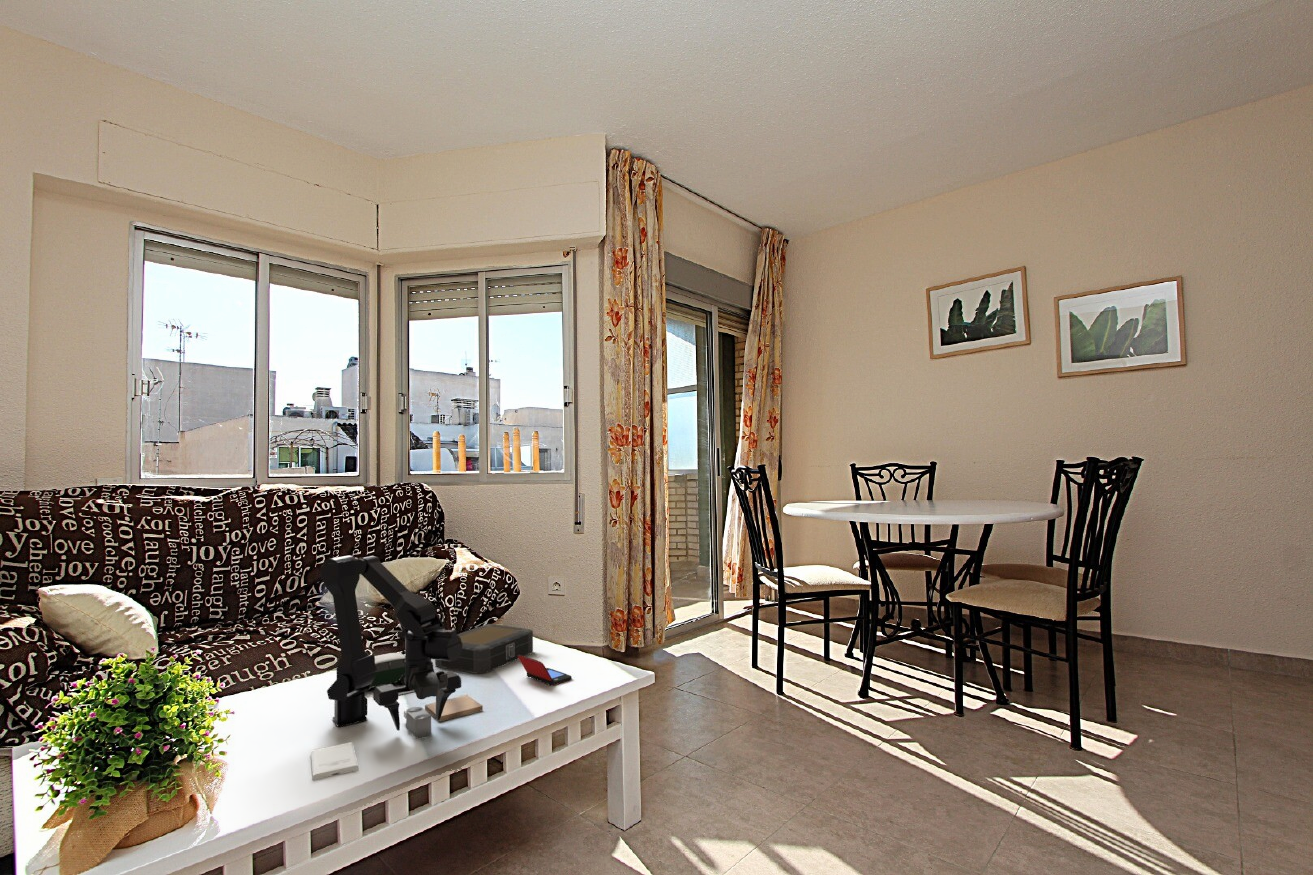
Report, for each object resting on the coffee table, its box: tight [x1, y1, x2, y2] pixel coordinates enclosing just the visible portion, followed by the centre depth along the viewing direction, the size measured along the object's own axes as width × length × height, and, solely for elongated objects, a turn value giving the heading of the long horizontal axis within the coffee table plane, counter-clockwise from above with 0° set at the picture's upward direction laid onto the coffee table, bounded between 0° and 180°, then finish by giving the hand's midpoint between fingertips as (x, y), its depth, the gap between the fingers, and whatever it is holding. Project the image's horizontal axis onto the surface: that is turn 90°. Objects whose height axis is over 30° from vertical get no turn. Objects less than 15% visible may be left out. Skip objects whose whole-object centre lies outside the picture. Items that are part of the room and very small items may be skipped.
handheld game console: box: [517, 655, 573, 686], centre depth 188 cm, size 12×11×7 cm
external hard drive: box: [310, 742, 359, 781], centre depth 137 cm, size 2×8×12 cm
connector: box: [403, 706, 432, 739], centre depth 154 cm, size 4×12×4 cm, turn 38°
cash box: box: [434, 623, 534, 675], centre depth 208 cm, size 25×20×8 cm
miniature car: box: [364, 652, 405, 693], centre depth 185 cm, size 9×18×8 cm, turn 128°
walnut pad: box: [424, 694, 484, 723], centre depth 165 cm, size 11×10×1 cm
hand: (418, 724), depth 153 cm, fingers open, 9 cm apart
